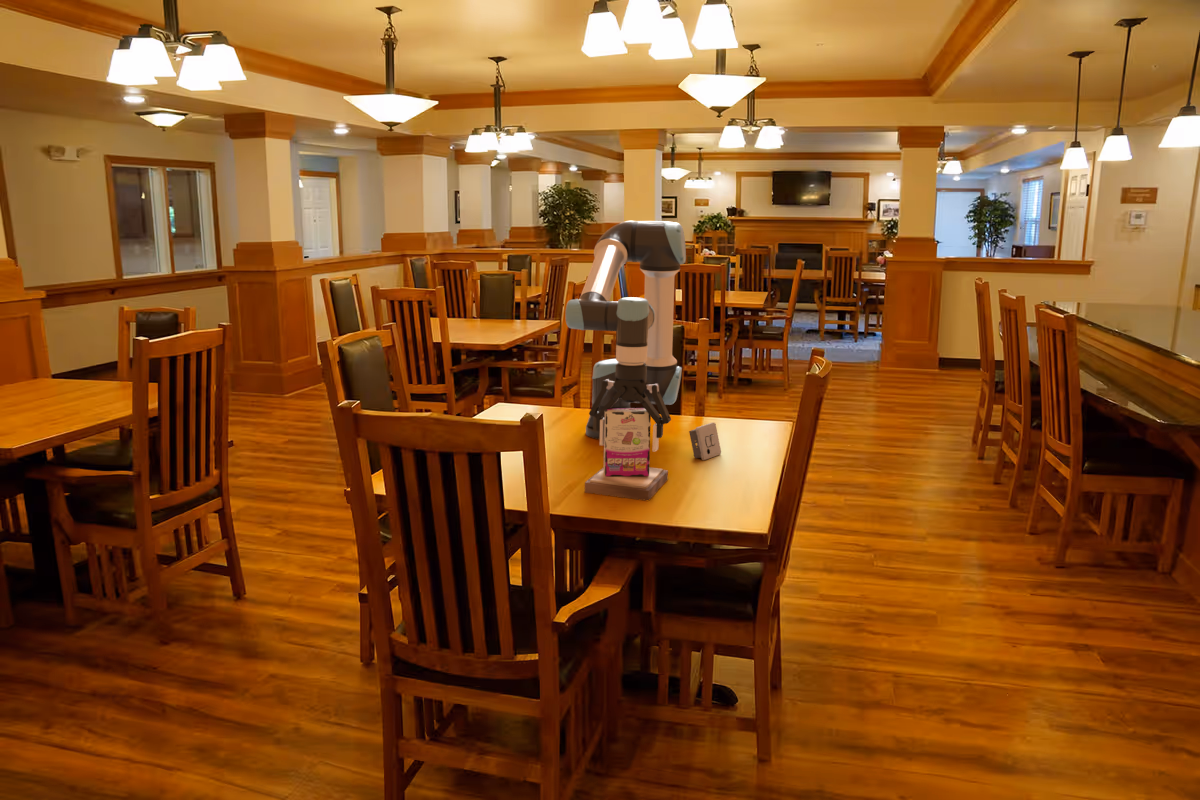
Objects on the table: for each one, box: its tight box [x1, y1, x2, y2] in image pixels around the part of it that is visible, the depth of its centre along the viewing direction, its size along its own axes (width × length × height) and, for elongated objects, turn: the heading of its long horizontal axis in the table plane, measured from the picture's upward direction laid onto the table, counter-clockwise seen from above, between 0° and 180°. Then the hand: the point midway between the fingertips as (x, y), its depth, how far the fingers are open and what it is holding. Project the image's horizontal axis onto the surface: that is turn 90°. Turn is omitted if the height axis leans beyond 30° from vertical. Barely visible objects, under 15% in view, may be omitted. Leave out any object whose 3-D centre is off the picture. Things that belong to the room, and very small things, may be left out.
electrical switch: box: [688, 422, 722, 461], centre depth 240 cm, size 9×5×9 cm, turn 141°
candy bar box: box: [603, 407, 652, 477], centre depth 210 cm, size 11×5×16 cm, turn 95°
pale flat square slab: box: [584, 466, 669, 501], centre depth 211 cm, size 18×16×3 cm
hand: (628, 447), depth 210 cm, fingers open, 13 cm apart
